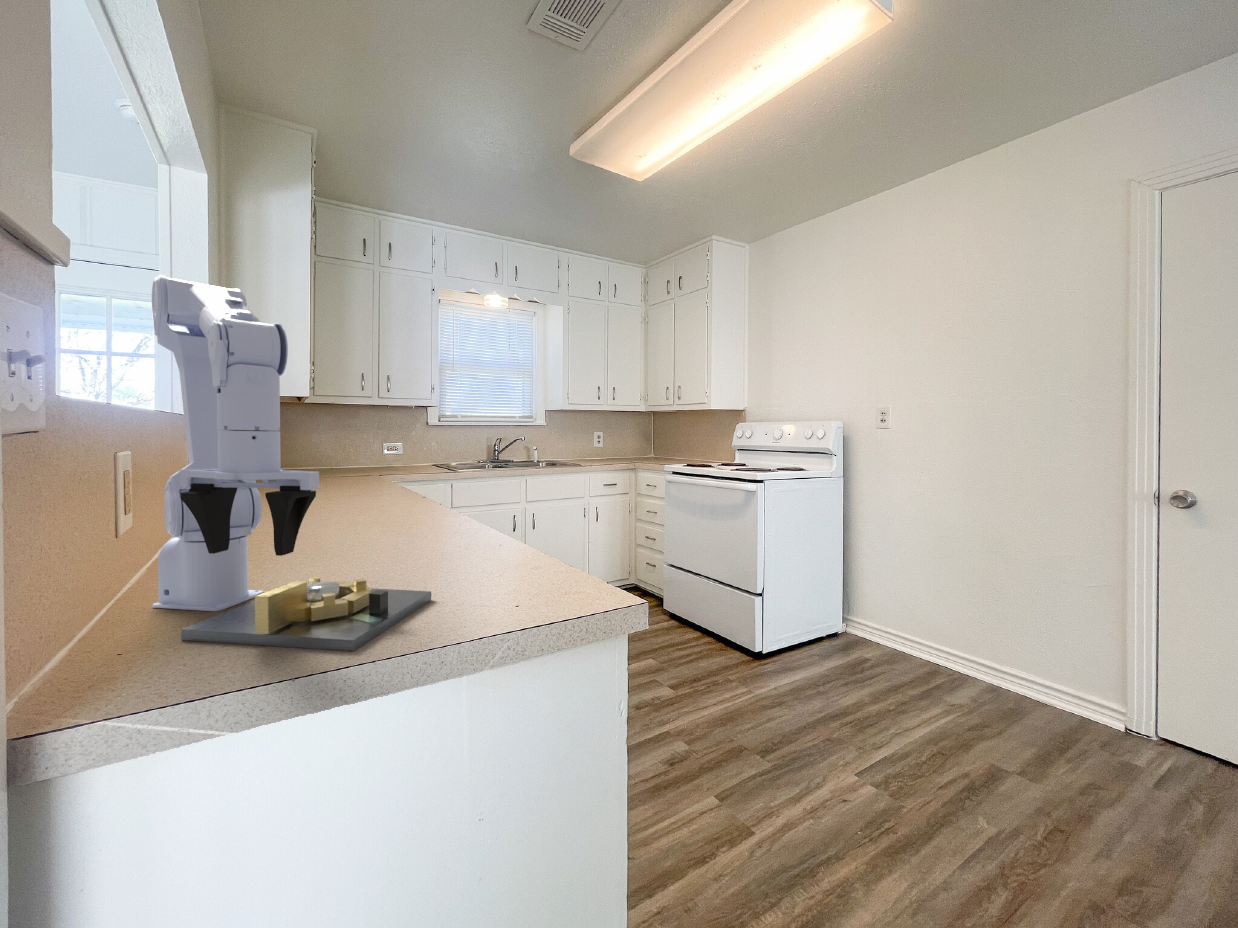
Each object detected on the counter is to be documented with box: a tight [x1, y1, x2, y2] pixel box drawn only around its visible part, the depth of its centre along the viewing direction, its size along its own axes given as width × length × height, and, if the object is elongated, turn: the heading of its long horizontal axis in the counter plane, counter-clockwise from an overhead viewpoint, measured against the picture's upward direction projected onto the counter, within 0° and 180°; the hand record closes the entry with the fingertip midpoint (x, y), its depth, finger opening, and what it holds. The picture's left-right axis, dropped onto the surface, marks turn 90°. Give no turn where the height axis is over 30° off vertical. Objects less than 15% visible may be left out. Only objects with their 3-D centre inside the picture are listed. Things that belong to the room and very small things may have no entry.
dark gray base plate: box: [180, 580, 432, 652], centre depth 66 cm, size 20×18×4 cm
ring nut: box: [254, 575, 372, 634], centre depth 64 cm, size 15×11×4 cm
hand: (251, 552), depth 60 cm, fingers open, 7 cm apart
